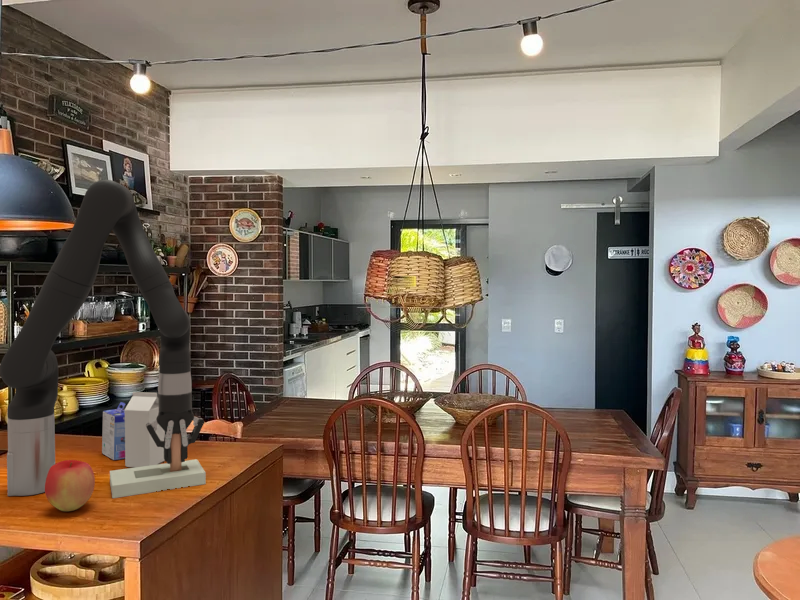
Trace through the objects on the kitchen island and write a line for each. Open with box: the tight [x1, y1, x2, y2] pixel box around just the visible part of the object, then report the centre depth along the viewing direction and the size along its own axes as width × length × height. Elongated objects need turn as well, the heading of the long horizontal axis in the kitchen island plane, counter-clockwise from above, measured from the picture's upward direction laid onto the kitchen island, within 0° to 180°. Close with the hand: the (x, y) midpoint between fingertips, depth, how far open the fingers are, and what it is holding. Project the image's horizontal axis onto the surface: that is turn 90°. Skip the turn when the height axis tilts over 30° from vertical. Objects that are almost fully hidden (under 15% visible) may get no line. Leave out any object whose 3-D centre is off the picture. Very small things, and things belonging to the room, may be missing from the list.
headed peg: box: [170, 433, 182, 472], centre depth 145 cm, size 5×5×11 cm
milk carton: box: [124, 391, 165, 468], centre depth 158 cm, size 7×7×19 cm
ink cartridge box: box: [101, 401, 127, 461], centre depth 166 cm, size 10×6×14 cm, turn 44°
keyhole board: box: [109, 458, 207, 499], centre depth 143 cm, size 20×12×3 cm, turn 118°
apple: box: [44, 459, 96, 512], centre depth 126 cm, size 10×10×10 cm
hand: (175, 461), depth 145 cm, fingers closed on headed peg, 2 cm apart
